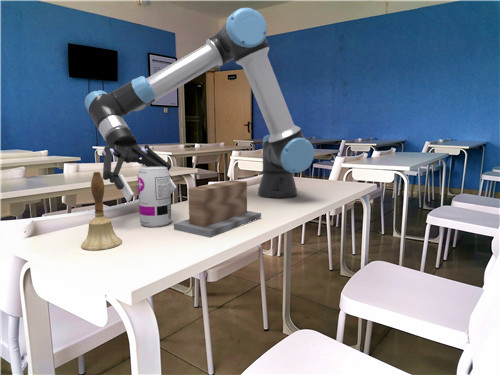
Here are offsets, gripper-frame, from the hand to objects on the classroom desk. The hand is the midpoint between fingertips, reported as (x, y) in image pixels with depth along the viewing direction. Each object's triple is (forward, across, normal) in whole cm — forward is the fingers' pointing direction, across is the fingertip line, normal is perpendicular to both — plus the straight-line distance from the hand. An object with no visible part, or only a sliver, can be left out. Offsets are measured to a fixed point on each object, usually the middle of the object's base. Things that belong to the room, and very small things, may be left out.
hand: (153, 194), depth 92 cm
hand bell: (+9, +18, -2) cm, 20 cm away
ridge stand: (+15, -11, +4) cm, 19 cm away
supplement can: (+6, 0, -6) cm, 8 cm away
